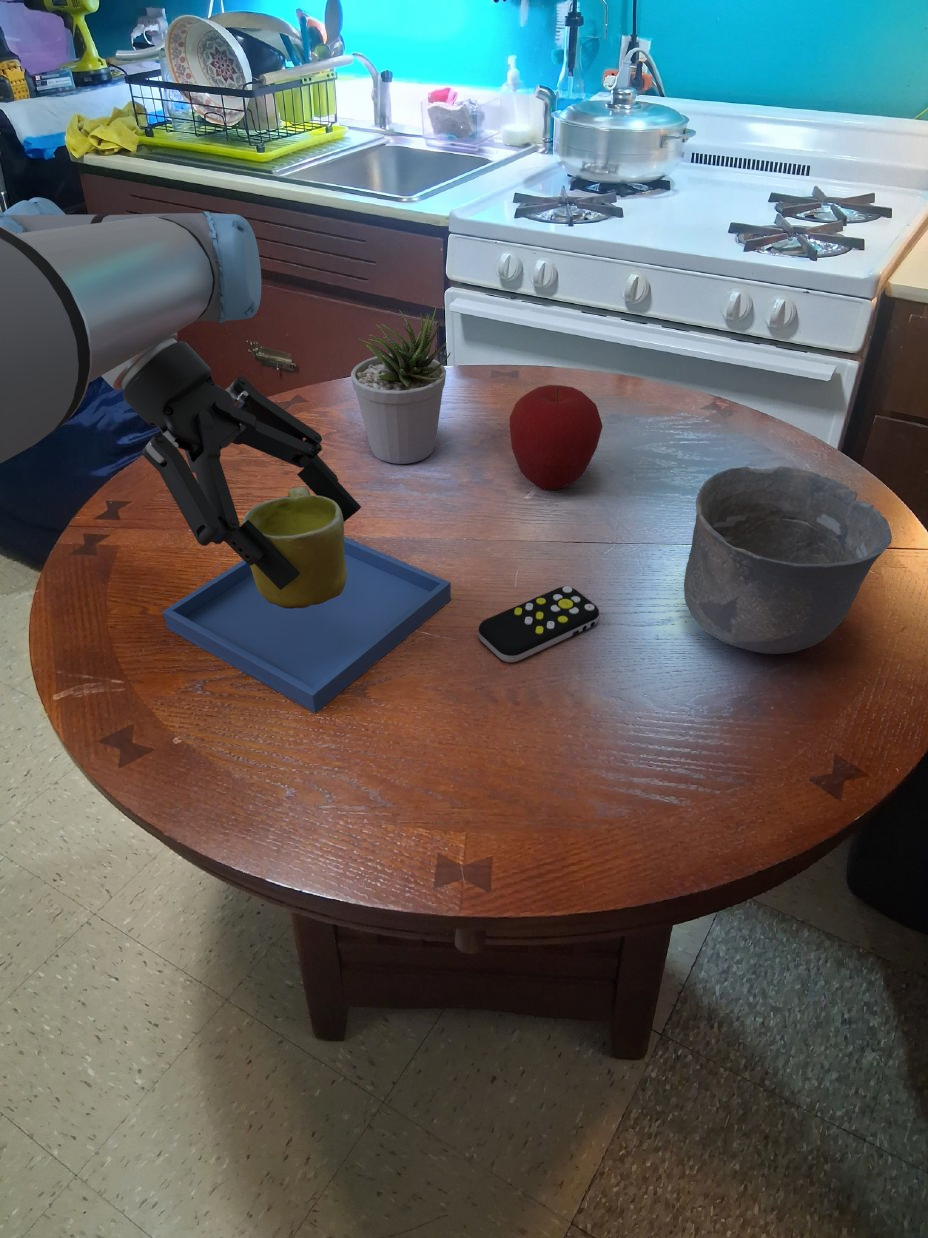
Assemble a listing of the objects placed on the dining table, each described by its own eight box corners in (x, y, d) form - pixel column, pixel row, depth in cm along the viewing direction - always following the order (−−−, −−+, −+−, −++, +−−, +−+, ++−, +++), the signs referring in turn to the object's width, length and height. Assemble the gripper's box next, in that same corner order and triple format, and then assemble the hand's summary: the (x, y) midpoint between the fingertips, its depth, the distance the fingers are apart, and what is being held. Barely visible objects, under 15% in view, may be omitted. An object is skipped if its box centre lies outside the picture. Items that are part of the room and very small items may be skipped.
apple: (600, 505, 111) (610, 409, 103) (508, 505, 111) (511, 408, 103) (591, 459, 120) (600, 367, 112) (507, 459, 121) (509, 366, 112)
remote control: (472, 635, 92) (472, 621, 90) (567, 594, 97) (568, 579, 96) (507, 669, 88) (507, 654, 86) (604, 623, 93) (605, 608, 92)
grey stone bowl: (858, 609, 95) (902, 488, 85) (834, 713, 82) (882, 587, 73) (696, 566, 101) (720, 450, 91) (651, 658, 89) (673, 535, 79)
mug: (351, 610, 79) (313, 509, 75) (252, 630, 82) (209, 533, 78) (384, 557, 90) (352, 466, 86) (295, 576, 92) (260, 488, 88)
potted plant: (384, 485, 115) (373, 337, 103) (344, 442, 125) (329, 301, 112) (467, 462, 120) (467, 318, 107) (423, 422, 129) (417, 285, 117)
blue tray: (315, 713, 83) (312, 695, 81) (166, 628, 93) (161, 611, 91) (451, 599, 96) (450, 582, 95) (308, 536, 106) (306, 519, 105)
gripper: (208, 342, 88) (357, 503, 94) (40, 447, 71) (233, 636, 77) (244, 296, 83) (399, 469, 89) (73, 397, 67) (277, 602, 72)
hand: (323, 546), depth 83 cm, fingers closed on mug, 11 cm apart
